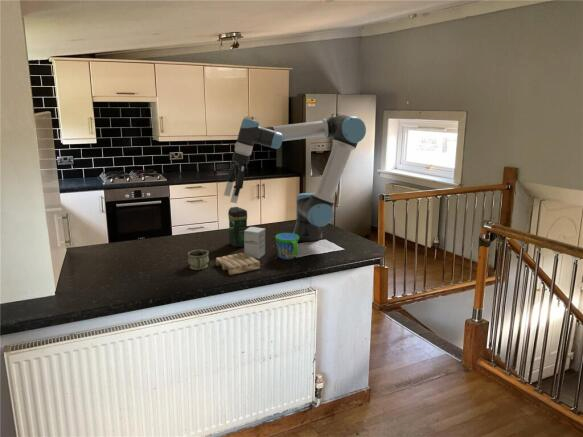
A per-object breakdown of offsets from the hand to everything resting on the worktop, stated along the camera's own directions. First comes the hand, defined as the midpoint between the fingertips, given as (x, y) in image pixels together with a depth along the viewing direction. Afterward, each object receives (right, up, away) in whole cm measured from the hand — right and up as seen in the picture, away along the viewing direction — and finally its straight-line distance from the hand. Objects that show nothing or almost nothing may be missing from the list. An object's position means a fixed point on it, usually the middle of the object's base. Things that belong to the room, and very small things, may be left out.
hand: (229, 199), depth 209 cm
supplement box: (+11, -26, +3) cm, 28 cm away
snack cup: (+26, -27, +1) cm, 37 cm away
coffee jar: (+2, -22, +18) cm, 28 cm away
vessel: (-12, -29, -11) cm, 34 cm away
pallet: (+5, -29, -10) cm, 31 cm away
